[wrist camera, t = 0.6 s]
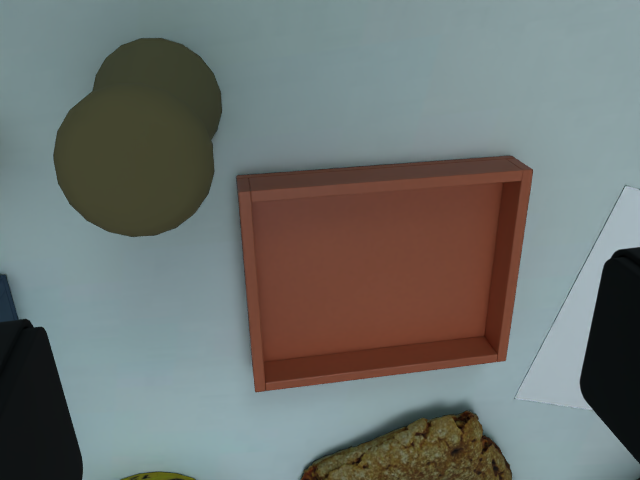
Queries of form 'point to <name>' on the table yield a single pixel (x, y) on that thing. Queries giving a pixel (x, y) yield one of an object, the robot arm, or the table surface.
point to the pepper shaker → (141, 140)
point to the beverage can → (158, 476)
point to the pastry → (419, 454)
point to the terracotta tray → (381, 268)
